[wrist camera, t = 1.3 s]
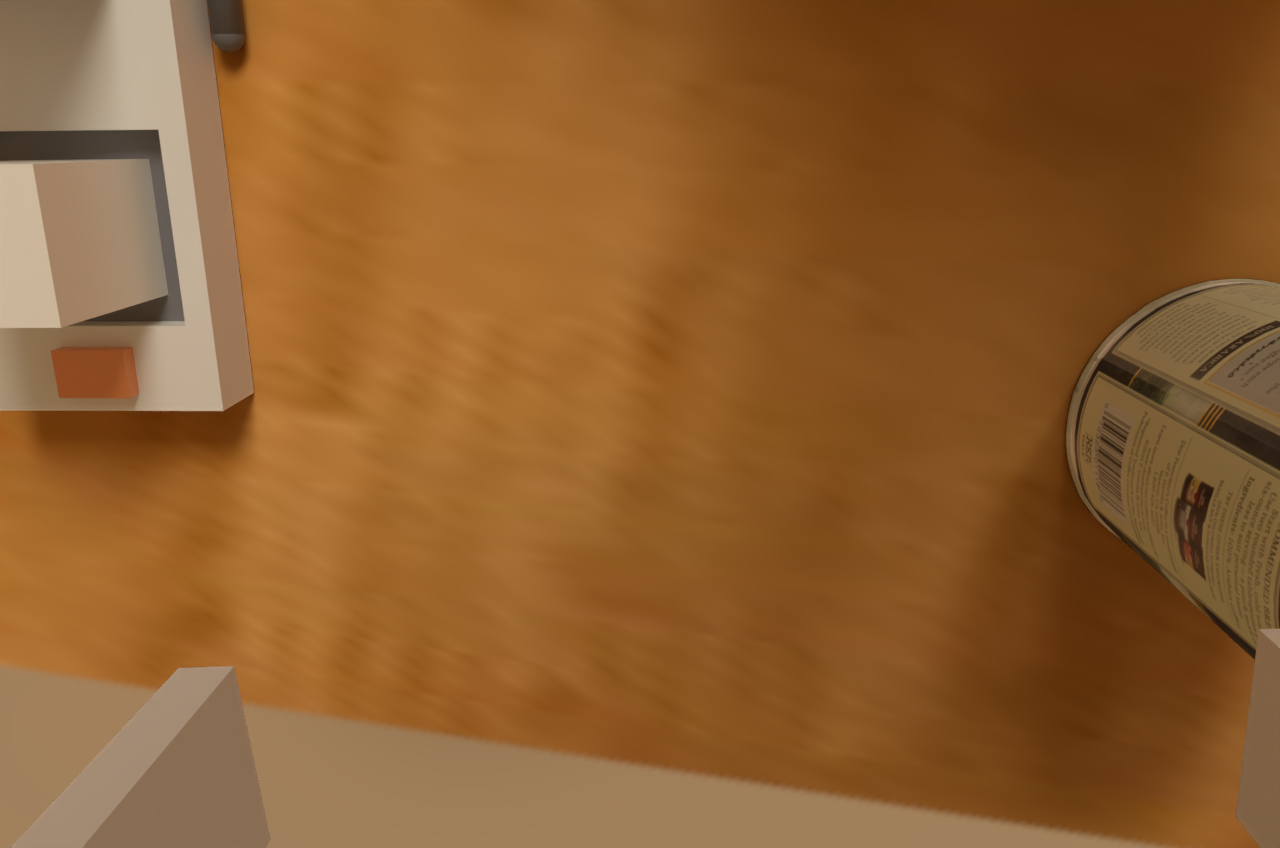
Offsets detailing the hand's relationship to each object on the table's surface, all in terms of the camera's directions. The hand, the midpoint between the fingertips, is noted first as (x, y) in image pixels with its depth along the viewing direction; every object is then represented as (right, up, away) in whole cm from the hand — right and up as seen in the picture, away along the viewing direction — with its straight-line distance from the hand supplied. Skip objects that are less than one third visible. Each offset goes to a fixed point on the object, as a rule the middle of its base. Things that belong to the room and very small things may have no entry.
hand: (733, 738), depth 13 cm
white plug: (-19, +11, +20) cm, 30 cm away
